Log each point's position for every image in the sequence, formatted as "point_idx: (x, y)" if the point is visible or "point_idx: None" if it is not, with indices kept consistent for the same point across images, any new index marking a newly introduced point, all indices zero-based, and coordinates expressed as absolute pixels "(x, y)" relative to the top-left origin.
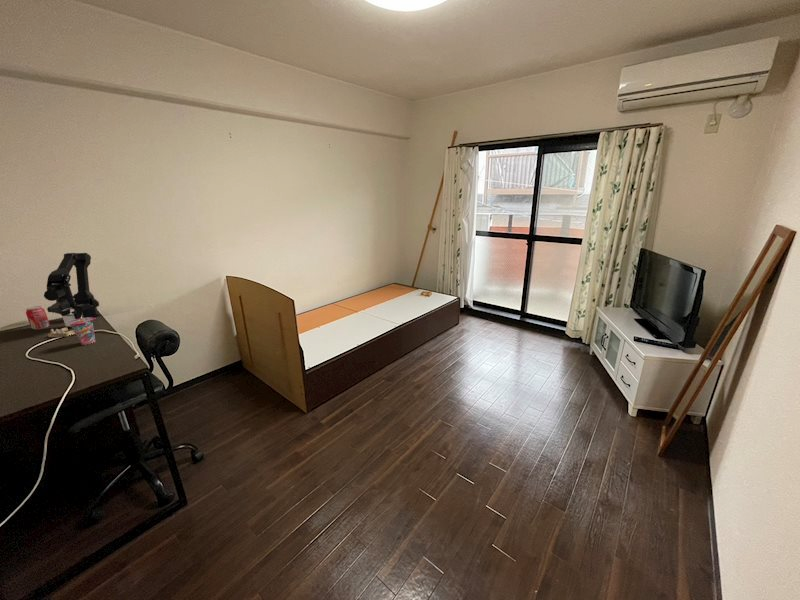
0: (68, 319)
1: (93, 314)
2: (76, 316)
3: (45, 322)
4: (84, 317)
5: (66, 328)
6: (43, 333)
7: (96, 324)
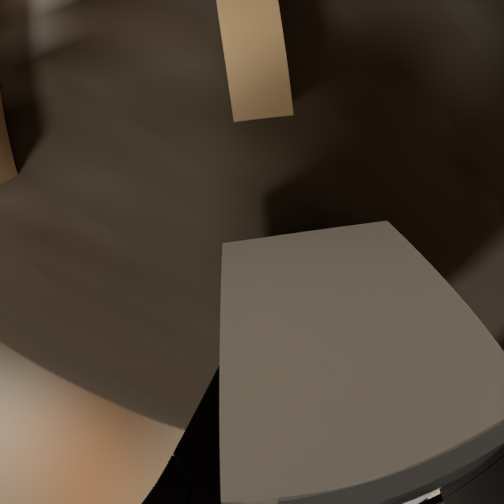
0: (333, 356)
1: None
2: (168, 477)
3: None
4: None
5: (232, 97)
6: (496, 27)
7: (78, 358)
